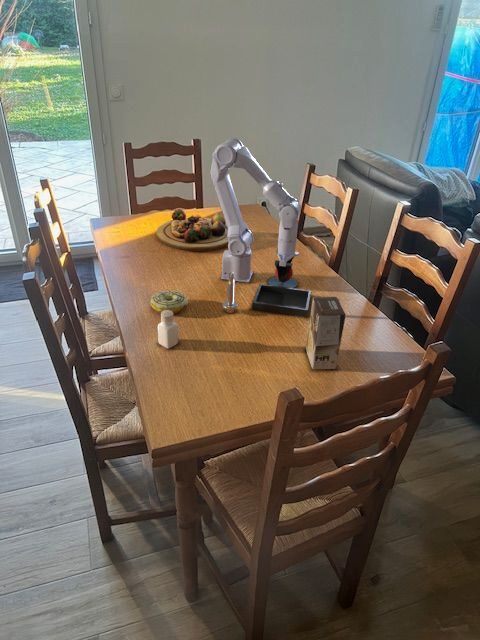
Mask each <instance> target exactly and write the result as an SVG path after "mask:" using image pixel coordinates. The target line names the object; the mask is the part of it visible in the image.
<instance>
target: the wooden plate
mask: <svg viewBox="0 0 480 640" xmlns="http://www.w3.org/2000/svg"><path fill="white" fill-rule="evenodd" d="M155 234H156V237H157V239H158V240H159V242H161V243H162V244H163V245H165V246H168V247H171V248H174V249H178V250H183V251H190V252H191V251H192V252H193V251H194V252H204V251H213V250H218V249H219V250H220V249H223V248H226V247H228V243H229V241H228V237H227V234H228V226H227V223H226V220H225V217H224V215H222V214H221V213H219V212H215V213H214V214H213V216H212V217H211V218H210V217H202V216H201V215H199V214H195V215H194V214H192V215H191V216H189V217H187V214H186V212H185V211H184V210H183V209H181V208H176V209H175V210H174V211H173V212H172V214H171V220H168V221H166V222H164V223H162V224H160V225H159V226H158V227H157V230H156V232H155Z"/></svg>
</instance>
